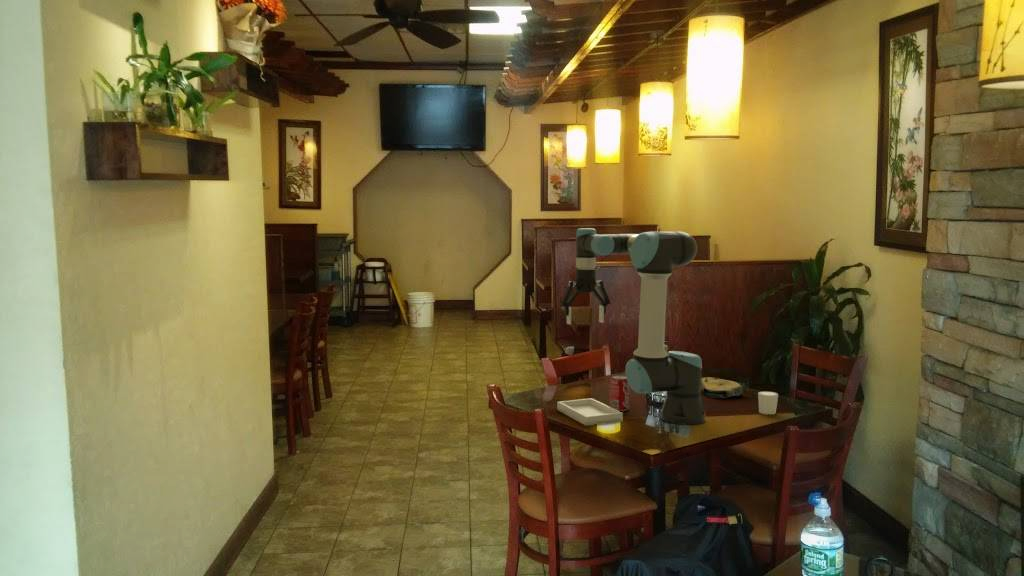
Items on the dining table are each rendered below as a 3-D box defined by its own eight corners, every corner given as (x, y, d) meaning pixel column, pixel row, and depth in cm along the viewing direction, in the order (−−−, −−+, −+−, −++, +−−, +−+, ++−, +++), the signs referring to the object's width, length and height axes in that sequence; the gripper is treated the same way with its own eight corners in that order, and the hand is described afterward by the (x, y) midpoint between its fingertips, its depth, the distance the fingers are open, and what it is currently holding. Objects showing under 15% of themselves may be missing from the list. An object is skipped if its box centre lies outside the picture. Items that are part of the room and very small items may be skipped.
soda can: (629, 407, 301) (630, 375, 300) (629, 412, 295) (629, 379, 293) (610, 406, 303) (610, 374, 301) (609, 411, 296) (609, 378, 294)
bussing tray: (622, 421, 283) (622, 412, 283) (586, 425, 278) (586, 416, 277) (591, 406, 303) (591, 398, 303) (557, 409, 298) (557, 401, 297)
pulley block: (704, 366, 343) (752, 382, 316) (705, 380, 344) (753, 396, 317) (675, 374, 338) (721, 391, 311) (677, 388, 339) (723, 405, 312)
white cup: (780, 414, 293) (781, 395, 292) (761, 415, 292) (762, 395, 291) (773, 409, 299) (773, 390, 299) (754, 410, 299) (755, 391, 298)
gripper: (611, 267, 327) (610, 320, 329) (551, 268, 319) (551, 323, 321) (619, 268, 320) (618, 323, 322) (559, 270, 312) (558, 325, 314)
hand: (585, 323), depth 322 cm, fingers open, 13 cm apart
